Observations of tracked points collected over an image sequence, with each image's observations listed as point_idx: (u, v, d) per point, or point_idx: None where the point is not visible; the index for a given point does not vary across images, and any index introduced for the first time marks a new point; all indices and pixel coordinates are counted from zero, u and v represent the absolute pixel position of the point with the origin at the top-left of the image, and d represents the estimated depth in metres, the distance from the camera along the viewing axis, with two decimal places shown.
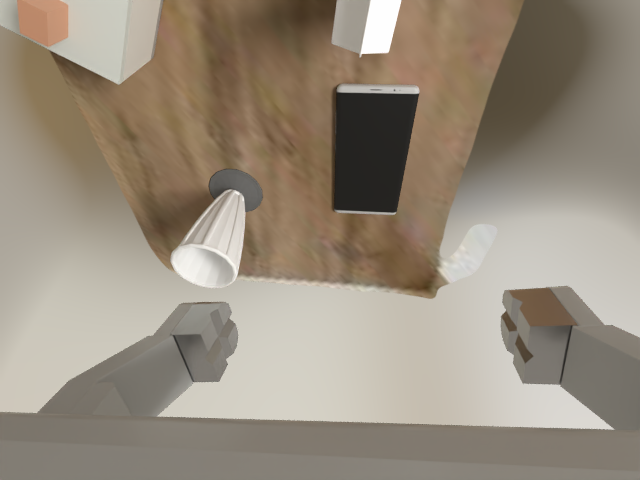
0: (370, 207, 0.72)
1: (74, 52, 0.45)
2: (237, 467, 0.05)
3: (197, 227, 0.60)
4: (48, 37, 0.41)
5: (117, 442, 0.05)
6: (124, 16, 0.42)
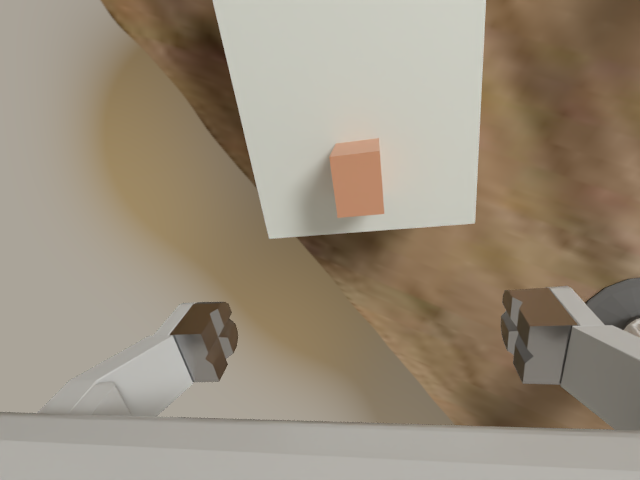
0: None
1: (394, 213, 0.26)
2: (237, 467, 0.05)
3: None
4: (383, 197, 0.22)
5: (117, 442, 0.05)
6: (477, 89, 0.22)
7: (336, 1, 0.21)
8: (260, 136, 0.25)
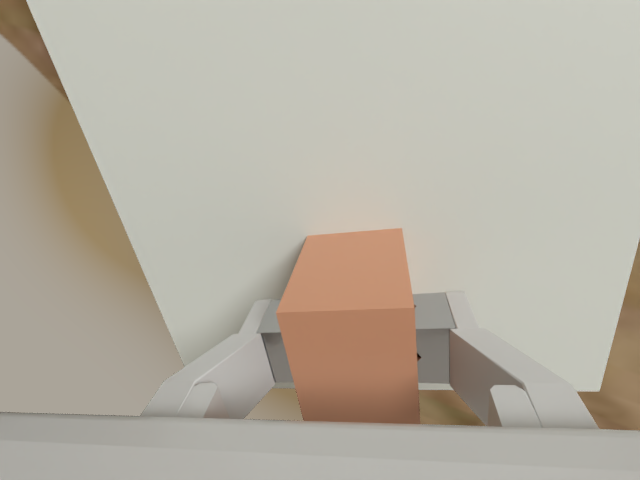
0: None
1: None
2: (237, 467, 0.05)
3: None
4: (418, 401, 0.08)
5: (117, 443, 0.05)
6: None
7: None
8: (151, 218, 0.12)
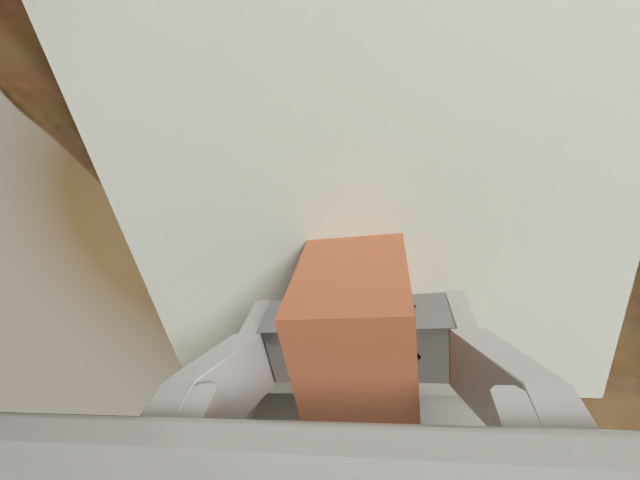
0: None
1: None
2: (237, 467, 0.05)
3: None
4: (419, 410, 0.08)
5: (118, 442, 0.05)
6: None
7: None
8: (148, 222, 0.12)
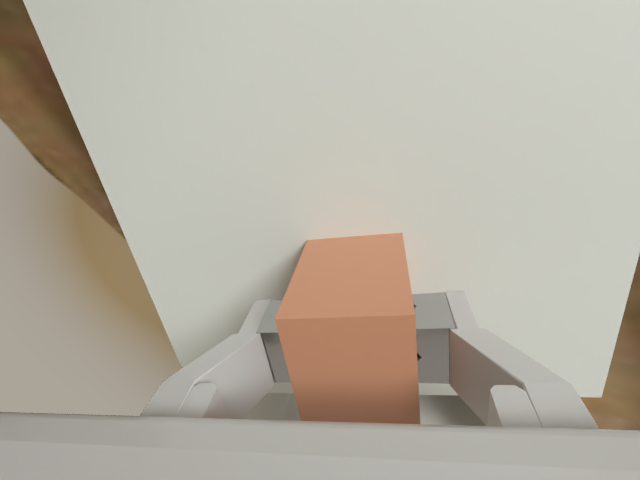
0: None
1: None
2: (237, 467, 0.05)
3: None
4: (419, 408, 0.08)
5: (117, 443, 0.05)
6: None
7: None
8: (149, 222, 0.12)
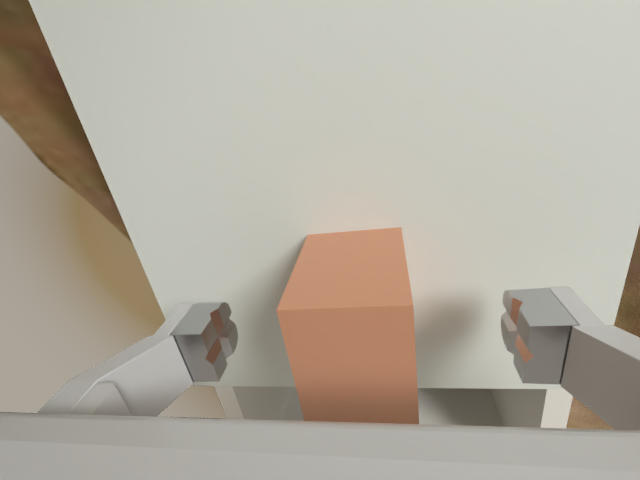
0: None
1: (429, 362, 0.13)
2: (237, 467, 0.05)
3: None
4: (417, 398, 0.09)
5: (118, 442, 0.05)
6: None
7: None
8: (152, 217, 0.12)
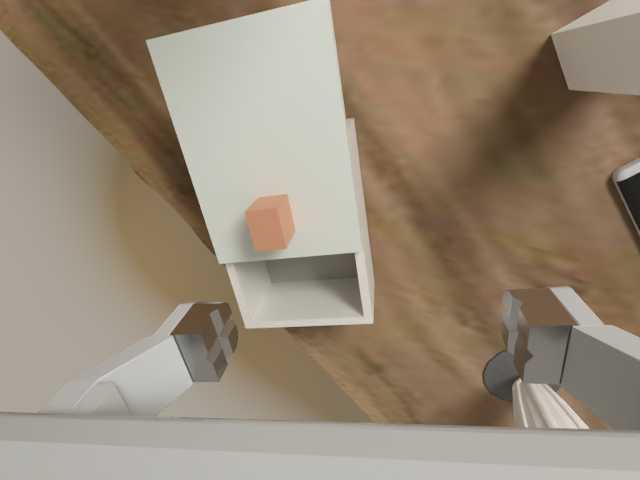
0: None
1: (305, 245, 0.36)
2: (237, 467, 0.05)
3: None
4: (283, 237, 0.31)
5: (117, 442, 0.05)
6: (348, 162, 0.31)
7: (248, 108, 0.31)
8: (206, 193, 0.35)
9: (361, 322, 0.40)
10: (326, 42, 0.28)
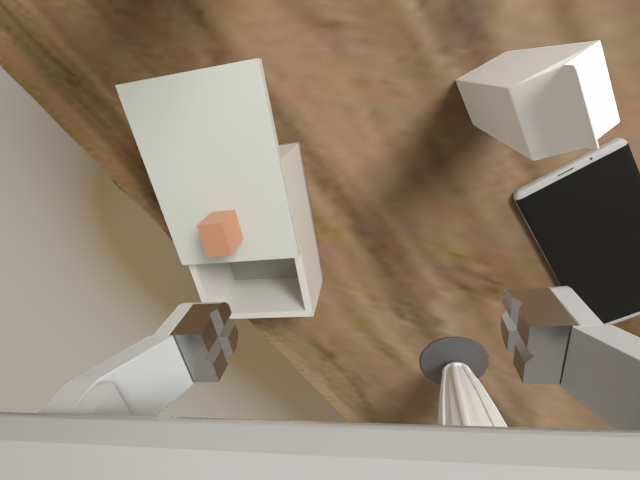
0: (639, 304, 0.50)
1: (252, 251, 0.43)
2: (237, 467, 0.05)
3: None
4: (229, 246, 0.39)
5: (117, 442, 0.05)
6: (282, 186, 0.39)
7: (199, 140, 0.38)
8: (169, 207, 0.42)
9: (303, 315, 0.48)
10: (259, 93, 0.35)
